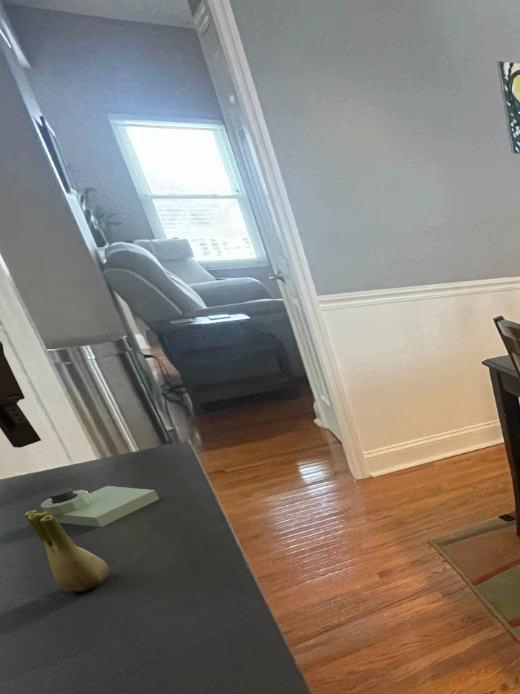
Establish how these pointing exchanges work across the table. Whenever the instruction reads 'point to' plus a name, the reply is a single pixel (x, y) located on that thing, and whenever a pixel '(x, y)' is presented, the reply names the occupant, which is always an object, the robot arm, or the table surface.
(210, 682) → the table surface
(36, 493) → the table surface
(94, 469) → the table surface
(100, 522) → the scale
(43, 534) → the fennel bulb
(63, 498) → the scale button
